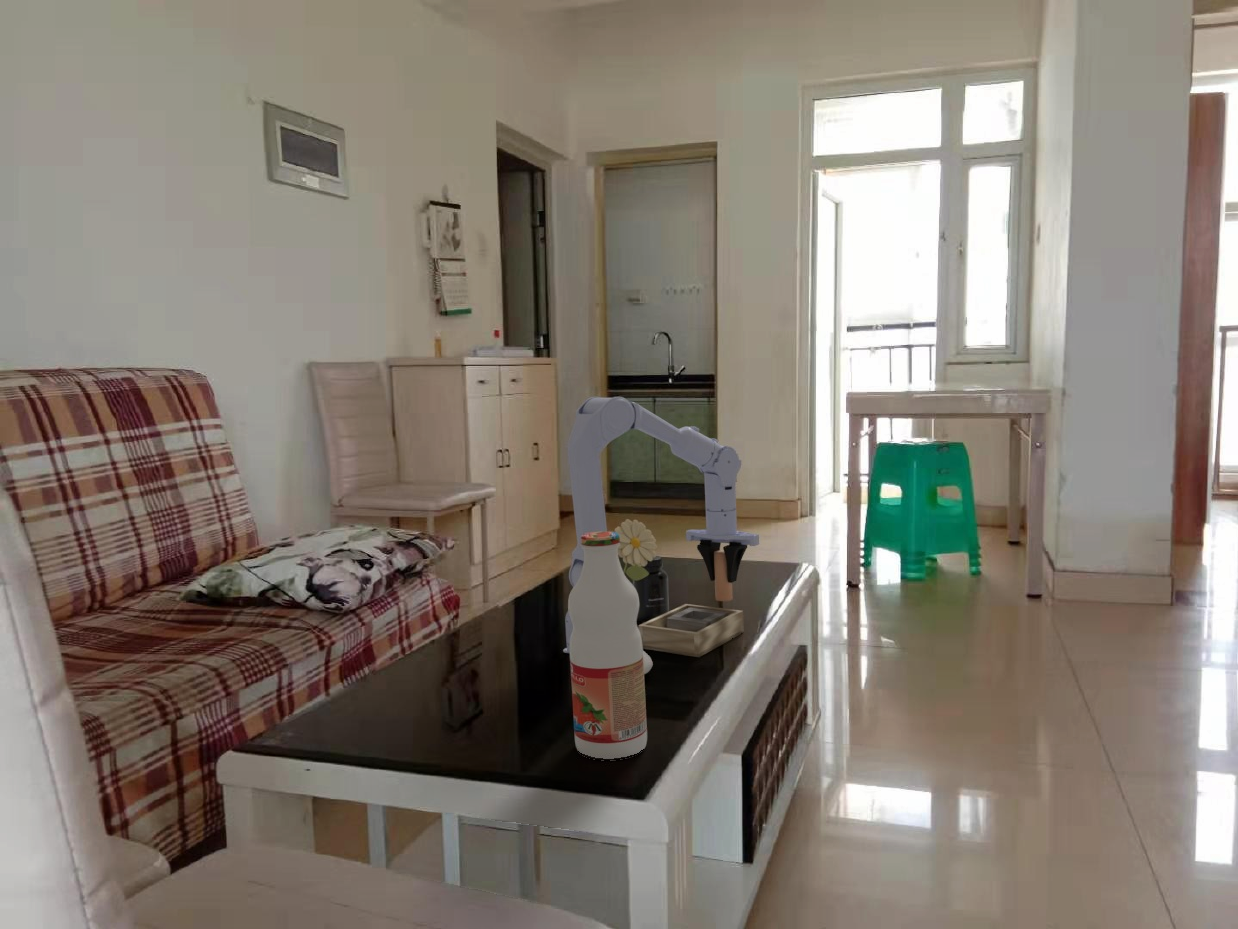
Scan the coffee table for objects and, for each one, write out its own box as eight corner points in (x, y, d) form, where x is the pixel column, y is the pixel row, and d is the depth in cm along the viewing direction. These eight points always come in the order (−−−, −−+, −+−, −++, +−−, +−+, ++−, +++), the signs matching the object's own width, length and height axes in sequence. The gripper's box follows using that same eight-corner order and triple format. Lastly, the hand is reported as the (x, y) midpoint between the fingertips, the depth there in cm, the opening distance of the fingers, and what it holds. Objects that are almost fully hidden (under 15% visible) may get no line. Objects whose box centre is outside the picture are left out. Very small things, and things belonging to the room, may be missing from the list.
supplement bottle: (656, 624, 176) (653, 562, 175) (627, 620, 180) (624, 559, 179) (676, 616, 182) (673, 555, 180) (648, 612, 186) (645, 552, 184)
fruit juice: (651, 759, 116) (640, 538, 113) (575, 765, 116) (562, 543, 113) (644, 730, 125) (634, 525, 123) (574, 735, 125) (562, 530, 122)
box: (699, 657, 155) (698, 634, 155) (639, 647, 162) (638, 625, 162) (743, 632, 168) (742, 610, 168) (686, 624, 175) (685, 603, 175)
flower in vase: (591, 692, 141) (582, 530, 139) (575, 669, 152) (566, 519, 150) (672, 680, 145) (665, 522, 142) (651, 659, 156) (643, 511, 153)
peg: (727, 601, 173) (725, 554, 172) (712, 600, 175) (710, 553, 174) (735, 598, 176) (734, 551, 175) (720, 596, 178) (719, 549, 177)
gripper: (765, 508, 173) (767, 579, 174) (698, 504, 181) (700, 572, 183) (748, 513, 167) (750, 587, 169) (679, 509, 176) (682, 580, 177)
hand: (723, 580), depth 175 cm, fingers closed on peg, 3 cm apart
